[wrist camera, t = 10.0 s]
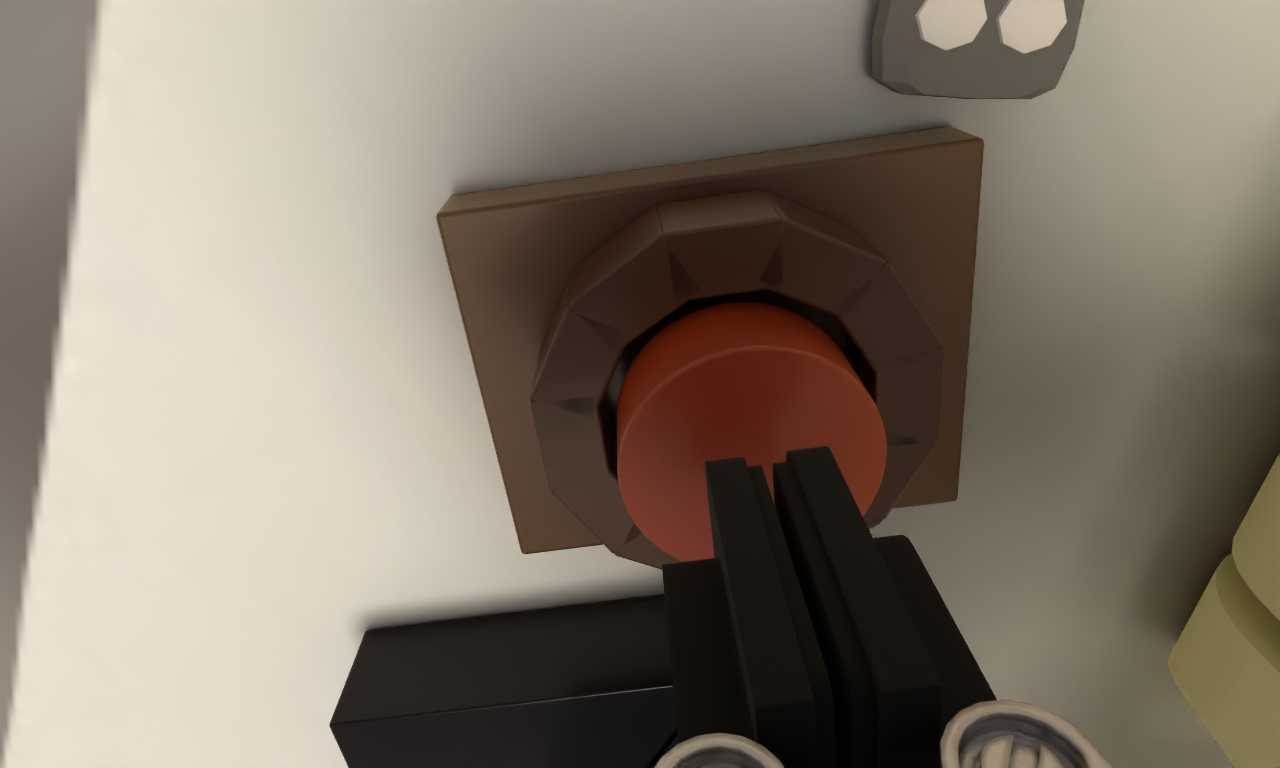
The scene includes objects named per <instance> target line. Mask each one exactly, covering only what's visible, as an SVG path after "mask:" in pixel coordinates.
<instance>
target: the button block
mask: <svg viewBox="0 0 1280 768" xmlns="http://www.w3.org/2000/svg"><path fill="white" fill-rule="evenodd" d="M983 149H984V141H983V139H982V138H979V137H977V136H974V135H971V134H969V133H966V132H964V131H961V130H959V129H956V128H954V127H942V128H935V129H928V130H921V131H914V132H906V133H899V134H892V135H885V136H877V137H870V138H863V139H856V140H849V141H841V142H834V143H827V144H820V145H812V146H805V147H798V148H791V149H784V150H776V151H769V152H762V153H755V154H747V155H740V156H733V157H726V158H719V159H711V160H704V161H697V162H690V163H682V164H675V165H668V166H661V167H653V168H646V169H639V170H632V171H625V172H617V173H610V174H603V175H596V176H588V177H581V178H574V179H567V180H560V181H552V182H545V183H538V184H531V185H523V186H516V187H509V188H502V189H495V190H487V191H480V192H473V193H466V194H458V195H453V196H451V197H450V198H449V199H448V201H447V202H446V203H445V204H444V206H443V207H442V208H441V209H440V211H439V212H438V213H437V216H436V219H437V223H438V227H439V231H440V235H441V239H442V243H443V246H444V250H445V254H446V258H447V262H448V266H449V270H450V274H451V278H452V282H453V286H454V290H455V293H456V297H457V301H458V305H459V309H460V313H461V317H462V321H463V325H464V329H465V333H466V337H467V341H468V344H469V348H470V352H471V356H472V360H473V364H474V368H475V372H476V376H477V380H478V384H479V388H480V391H481V395H482V399H483V403H484V407H485V411H486V415H487V419H488V423H489V427H490V431H491V435H492V438H493V442H494V446H495V450H496V454H497V458H498V462H499V466H500V470H501V474H502V478H503V482H504V485H505V489H506V493H507V497H508V501H509V505H510V509H511V513H512V517H513V521H514V525H515V529H516V532H517V536H518V540H519V544H520V548H521V551H522V553H523V554H530V553H538V552H546V551H554V550H562V549H571V548H579V547H587V546H595V545H603V544H604V545H605V546H606V547H607V548H608V549H609V550H610V551H611V552H612V553H615V555H616V556H619V557H622V558H626V559H629V560H632V561H636V562H639V563H642V564H645V565H649V566H652V567H655V568H658V569H662V565H663V564H671V563H679V562H682V561H680V560H678V559H676V558H674V557H672V556H670V555H668V554H667V553H665V552H664V551H663V550H661V549H660V548H658V547H657V546H656V545H655V544H653V543H652V542H651V541H650V540H649V539H648V538H647V537H646V536H645V535H644V534H643V533H642V532H641V530H640V529H639V528H638V527H637V526H636V524H635V523H634V521H633V520H632V518H631V516H630V515H629V513H628V511H627V509H626V507H625V504H624V502H623V500H622V496H621V492H620V488H619V484H618V473H617V403H618V397H619V393H620V388H621V385H622V382H623V380H624V377H625V374H626V372H627V371H628V369H629V367H630V365H631V363H632V361H633V360H634V358H635V357H636V356H637V354H638V353H639V352H640V350H641V349H642V348H643V347H644V346H645V345H646V344H647V343H648V341H649V340H650V339H651V338H652V337H653V336H655V335H656V334H657V333H658V332H660V331H661V330H662V329H663V328H665V327H666V326H668V325H669V324H671V323H672V322H674V321H676V320H677V319H679V318H681V317H683V316H685V315H687V314H690V313H692V312H694V311H697V310H700V309H703V308H706V307H709V306H713V305H718V304H724V303H732V302H760V303H766V304H771V305H777V306H780V307H783V308H786V309H789V310H792V311H794V312H796V313H798V314H801V315H803V316H805V317H807V318H808V319H810V320H811V321H813V322H814V323H816V324H817V325H819V326H820V327H821V328H822V329H823V330H824V331H825V332H827V333H828V334H829V335H830V336H831V338H832V339H833V340H834V341H835V342H836V344H837V345H838V346H839V347H840V349H841V351H842V352H843V354H844V355H845V357H846V358H847V360H848V361H849V363H850V365H851V366H852V368H853V369H854V371H855V372H856V374H857V376H858V377H859V379H860V380H861V382H862V383H863V385H864V387H865V388H866V390H867V391H868V393H869V394H870V396H871V398H872V399H873V401H874V403H875V404H876V406H877V408H878V411H879V413H880V416H881V418H882V421H883V425H884V429H885V434H886V444H887V455H886V465H885V470H884V474H883V478H882V482H881V484H880V487H879V489H878V492H877V494H876V496H875V498H874V500H873V502H872V503H871V505H870V507H869V508H868V510H867V511H866V513H865V514H864V515H863V519H864V521H865V523H866V525H867V527H868V529H871V528H873V527H874V526H876V525H878V524H880V522H881V520H883V519H885V518H886V516H887V515H888V513H889V512H890V511H891V509H895V508H903V507H911V506H919V505H928V504H936V503H944V502H952V501H956V500H957V496H958V482H959V469H960V456H961V442H962V429H963V416H964V402H965V389H966V376H967V363H968V349H969V336H970V323H971V309H972V296H973V283H974V269H975V256H976V243H977V229H978V216H979V203H980V189H981V176H982V163H983Z"/></svg>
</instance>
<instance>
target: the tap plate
mask: <svg viewBox="0 0 1280 768" xmlns="http://www.w3.org/2000/svg"><path fill="white" fill-rule="evenodd" d="M330 728H331V730H332V733H333V735H334V737H335V739H336V741H337V743H338V746H339V748H340V750H341V752H342V754H343V756H344V758H345V761H346V763H347V765H348V767H349V768H651V767H652V766H653V765H654V764H655V762H656V761H657V760H658V759H659V757H660V756H661V755H662V754H663V752H664V751H665V750H666V749H667V747H668V746H669V745H670V744H671V742H672V741H673V740H674V739H675V737H676V736H677V726H676V715H675V704H674V692H673V681H672V670H671V659H670V648H669V637H668V626H667V615H666V604H665V595H657V596H649V597H640V598H632V599H624V600H615V601H607V602H599V603H591V604H582V605H574V606H566V607H558V608H549V609H541V610H533V611H524V612H516V613H508V614H500V615H491V616H483V617H475V618H467V619H458V620H450V621H442V622H433V623H425V624H417V625H409V626H400V627H392V628H384V629H376V630H368V631H366V632H365V634H364V637H363V639H362V642H361V644H360V647H359V650H358V652H357V655H356V657H355V660H354V662H353V665H352V668H351V670H350V673H349V675H348V678H347V681H346V683H345V686H344V688H343V691H342V693H341V696H340V699H339V701H338V704H337V706H336V709H335V711H334V714H333V717H332V719H331V722H330Z"/></svg>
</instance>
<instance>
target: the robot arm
mask: <svg viewBox="0 0 1280 768" xmlns="http://www.w3.org/2000/svg"><path fill="white" fill-rule="evenodd" d="M772 469H773V489H774V502H773V499H772V496H771V493H770V490H769V486H768V483H767V480H766V477H765V474H764V471H763V468H762V466H761V465H757V466H749V467H747V463H746V460H745V457H736V458H728V459H720V460H712V461H705V474H706V483H707V493H708V502H709V511H710V520H711V530H712V539H713V548H714V558H711V559H703V560H695V561H687V562H679V563H671V564H663V565H662V570H663V582H664V593H665V604H666V615H667V626H668V637H669V648H670V659H671V670H672V681H673V692H674V704H675V715H676V726H677V737H678V744H677V745H676V746H675V747H674V748H673V749H671V750H670V751H669V752H668V753H666V754H665V755H664V756H663V757H662V758H661V759H660V760H659V762H658V763H657V765H656V766H655V768H1113V767H1112V766H1111V765H1110V764H1109V762H1108V761H1107V760H1106V759H1105V758H1104V756H1103V755H1102V754H1101V753H1100V752H1099V750H1098V749H1097V748H1096V747H1095V746H1094V745H1093V744H1092V743H1091V742H1090V741H1089V740H1088V739H1087V738H1086V737H1085V736H1084V735H1083V734H1082V733H1081V732H1080V731H1079V730H1078V729H1077V728H1076V727H1074V726H1073V725H1071V724H1070V723H1068V722H1066V721H1065V720H1063V719H1061V718H1060V717H1058V716H1057V715H1055V714H1053V713H1052V712H1049V711H1046V710H1044V709H1041V708H1038V707H1035V706H1033V705H1030V704H1027V703H1021V702H1014V701H1007V700H997V699H996V697H995V695H994V694H993V692H992V690H991V688H990V686H989V684H988V682H987V681H986V679H985V677H984V675H983V673H982V671H981V670H980V668H979V666H978V664H977V662H976V660H975V659H974V657H973V655H972V653H971V651H970V649H969V648H968V646H967V644H966V642H965V640H964V638H963V636H962V635H961V633H960V631H959V629H958V627H957V625H956V624H955V622H954V620H953V618H952V616H951V614H950V613H949V611H948V609H947V607H946V605H945V603H944V602H943V600H942V598H941V596H940V594H939V592H938V590H937V589H936V587H935V585H934V583H933V581H932V579H931V578H930V576H929V574H928V572H927V570H926V568H925V567H924V565H923V563H922V561H921V559H920V557H919V555H918V554H917V552H916V550H915V548H914V546H913V545H912V543H911V542H910V540H909V539H908V538H907V537H906V536H904V535H896V536H888V537H880V538H873V537H872V535H871V533H870V531H869V529H868V527H867V525H866V523H865V521H864V519H863V516H862V514H861V512H860V510H859V508H858V506H857V504H856V502H855V500H854V498H853V496H852V493H851V491H850V489H849V487H848V485H847V483H846V481H845V479H844V477H843V475H842V472H841V470H840V468H839V466H838V464H837V462H836V460H835V458H834V456H833V454H832V452H831V450H830V448H829V447H828V446H822V447H814V448H806V449H798V450H790V451H787V453H786V462H780V463H773V468H772Z"/></svg>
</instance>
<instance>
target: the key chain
mask: <svg viewBox="0 0 1280 768" xmlns="http://www.w3.org/2000/svg"><path fill="white" fill-rule="evenodd" d="M1083 5H1084V0H880V2H879V7H878V12H877V16H876V21H875V25H874V30H873V35H872V71H873V79H875V80H877V81H878V82H880V83H881V84H883V85H884V86H886V87H887V88H889V89H890V90H892V91H895V92H897V93H900V94H907V95H921V96H935V97H948V98H962V99H1032V98H1034V97H1036V96H1039V95H1041V94H1043V93H1045V92H1047V91H1050V90H1052V89H1054V88H1055V87H1056V85H1057V83H1058V81H1059V79H1060V77H1061V75H1062V72H1063V70H1064V68H1065V66H1066V64H1067V62H1068V60H1069V57H1070V55H1071V53H1072V51H1073V49H1074V46H1075V41H1076V36H1077V32H1078V27H1079V23H1080V18H1081V14H1082V9H1083Z"/></svg>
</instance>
